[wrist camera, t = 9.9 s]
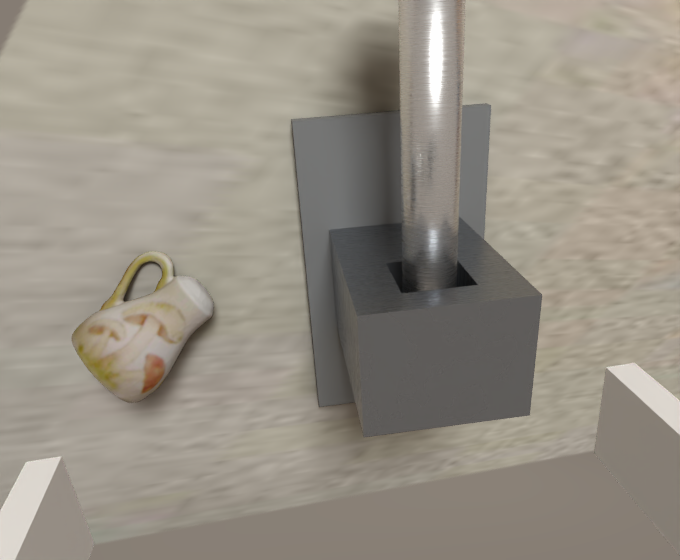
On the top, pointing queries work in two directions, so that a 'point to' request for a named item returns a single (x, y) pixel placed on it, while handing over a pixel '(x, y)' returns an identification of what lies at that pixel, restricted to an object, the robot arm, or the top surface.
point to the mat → (364, 207)
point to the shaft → (430, 139)
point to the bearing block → (432, 334)
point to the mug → (142, 331)
